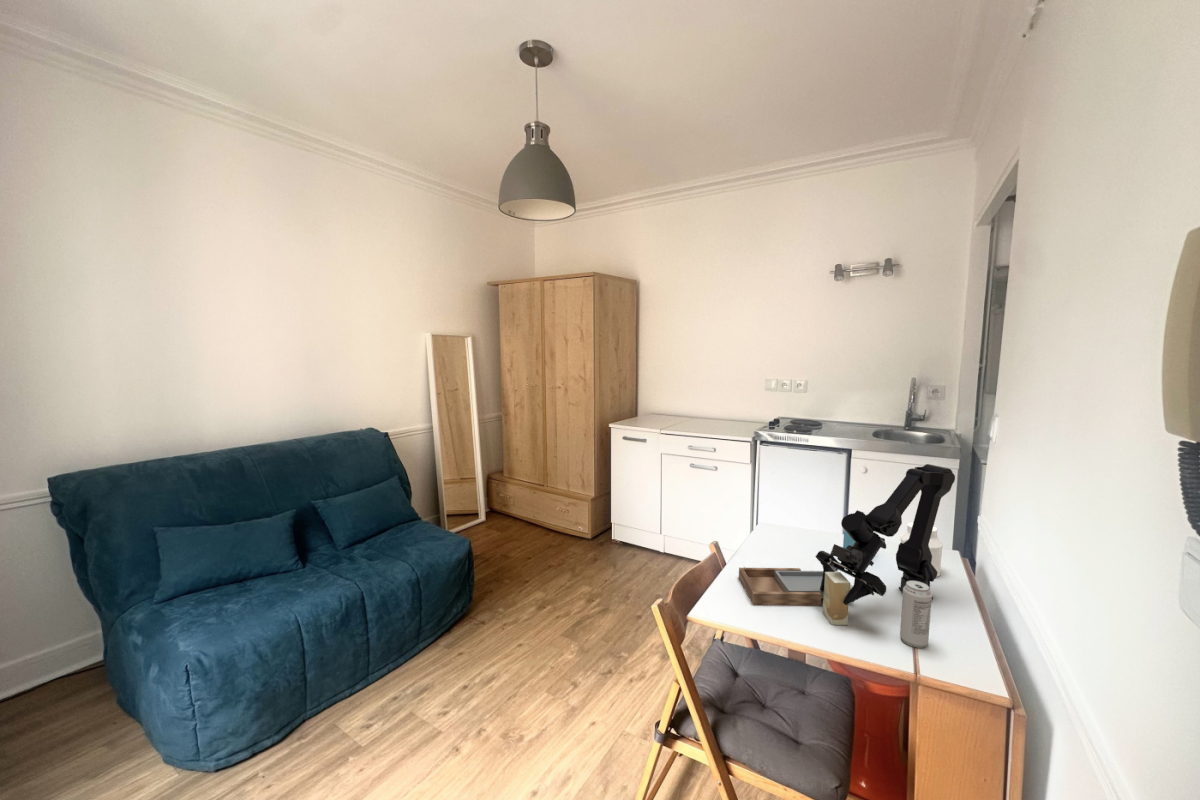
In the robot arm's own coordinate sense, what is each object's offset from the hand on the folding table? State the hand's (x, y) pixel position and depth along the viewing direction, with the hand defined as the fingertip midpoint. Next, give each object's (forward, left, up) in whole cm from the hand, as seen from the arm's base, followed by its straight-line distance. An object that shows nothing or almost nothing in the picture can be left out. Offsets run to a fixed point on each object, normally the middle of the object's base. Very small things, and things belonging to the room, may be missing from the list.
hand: (832, 597), depth 131 cm
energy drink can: (-16, +9, -7) cm, 20 cm away
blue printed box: (-26, -40, -7) cm, 48 cm away
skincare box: (-1, -1, -7) cm, 7 cm away
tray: (-1, -16, -5) cm, 16 cm away
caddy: (+9, -16, -7) cm, 19 cm away
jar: (-42, -31, -7) cm, 53 cm away
